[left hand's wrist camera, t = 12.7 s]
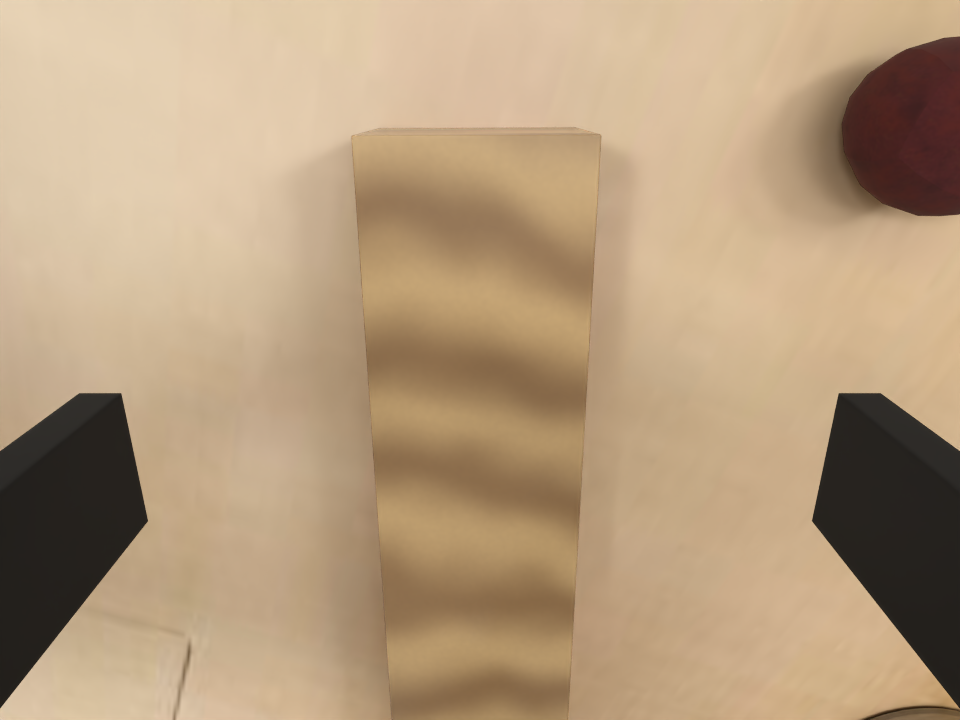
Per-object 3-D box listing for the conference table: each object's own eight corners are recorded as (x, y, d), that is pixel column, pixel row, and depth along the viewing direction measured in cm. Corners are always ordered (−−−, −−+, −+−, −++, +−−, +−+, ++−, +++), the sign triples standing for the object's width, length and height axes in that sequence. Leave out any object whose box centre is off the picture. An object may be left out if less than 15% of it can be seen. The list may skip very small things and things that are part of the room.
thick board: (378, 128, 33) (350, 135, 26) (576, 127, 33) (601, 134, 26) (425, 978, 58) (417, 1097, 51) (538, 977, 58) (546, 1097, 51)
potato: (918, 223, 35) (1020, 252, 28) (785, 169, 34) (859, 186, 27) (1005, 78, 32) (1140, 72, 26) (864, 15, 31) (967, -8, 25)
